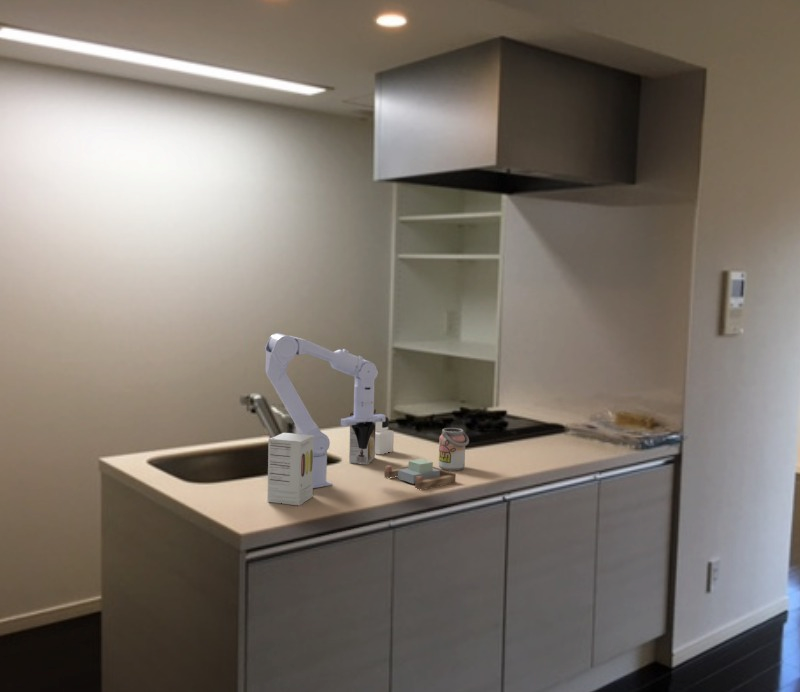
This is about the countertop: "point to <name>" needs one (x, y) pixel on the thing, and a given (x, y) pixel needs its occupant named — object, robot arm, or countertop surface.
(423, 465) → the stacked grey base
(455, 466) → the soda can pail
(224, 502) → the countertop surface
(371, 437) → the coffee box
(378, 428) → the medicine bottle
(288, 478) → the supplement box
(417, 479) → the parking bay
